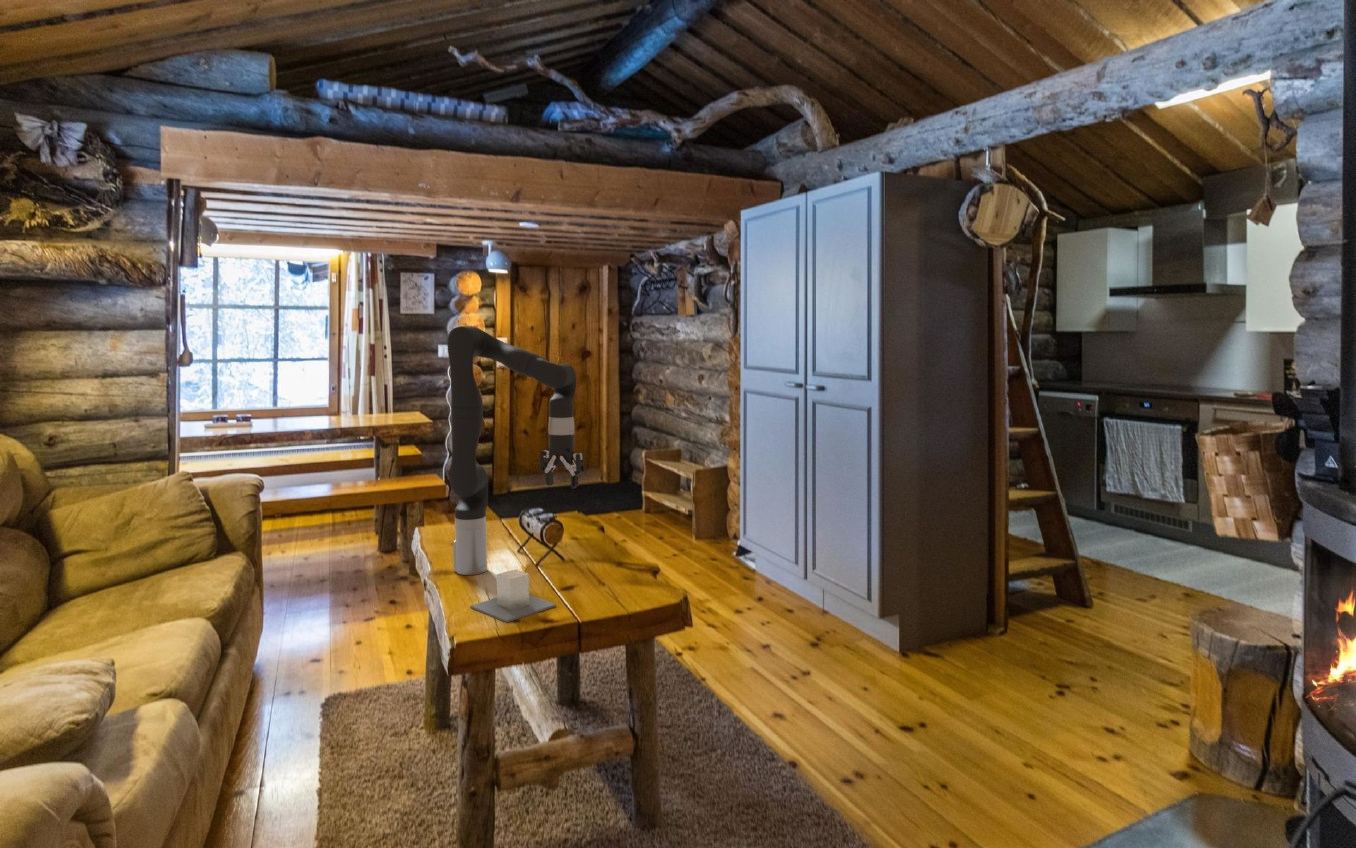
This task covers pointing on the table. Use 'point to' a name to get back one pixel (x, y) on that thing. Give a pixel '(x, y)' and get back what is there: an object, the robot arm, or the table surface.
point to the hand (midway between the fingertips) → (562, 486)
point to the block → (513, 589)
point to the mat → (510, 615)
